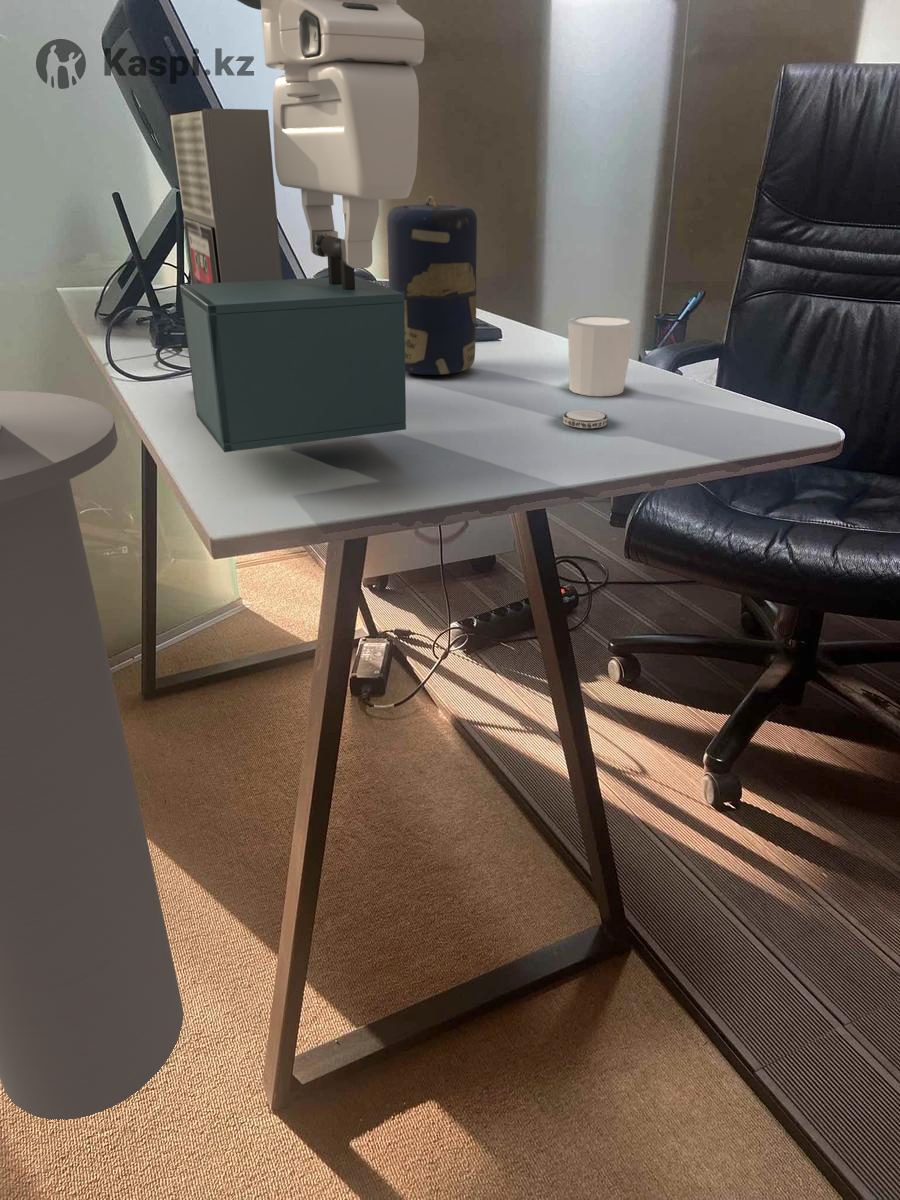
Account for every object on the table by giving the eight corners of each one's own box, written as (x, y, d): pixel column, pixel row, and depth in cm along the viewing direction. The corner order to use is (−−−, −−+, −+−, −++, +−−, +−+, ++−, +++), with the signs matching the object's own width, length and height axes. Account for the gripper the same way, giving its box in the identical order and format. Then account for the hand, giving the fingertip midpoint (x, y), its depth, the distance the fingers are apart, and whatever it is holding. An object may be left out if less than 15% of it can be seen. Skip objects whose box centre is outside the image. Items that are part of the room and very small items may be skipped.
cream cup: (588, 378, 94) (593, 312, 91) (641, 389, 90) (649, 320, 87) (550, 389, 90) (554, 320, 86) (604, 401, 86) (611, 329, 82)
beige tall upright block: (198, 393, 88) (160, 113, 76) (256, 386, 90) (229, 114, 79) (229, 428, 77) (191, 108, 65) (295, 420, 79) (270, 109, 68)
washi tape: (615, 425, 78) (616, 418, 78) (578, 430, 76) (578, 423, 76) (591, 414, 81) (591, 407, 81) (555, 418, 80) (555, 412, 79)
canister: (474, 361, 101) (478, 193, 93) (475, 380, 93) (479, 198, 84) (394, 360, 101) (390, 192, 93) (387, 379, 93) (382, 197, 85)
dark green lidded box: (224, 452, 61) (200, 251, 54) (196, 416, 69) (173, 236, 62) (406, 429, 66) (404, 244, 60) (361, 398, 74) (354, 231, 68)
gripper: (245, 49, 64) (262, 248, 70) (334, 18, 48) (345, 281, 54) (326, 53, 66) (335, 245, 73) (437, 26, 50) (436, 276, 56)
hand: (340, 261), depth 63 cm, fingers closed on dark green lidded box, 6 cm apart
